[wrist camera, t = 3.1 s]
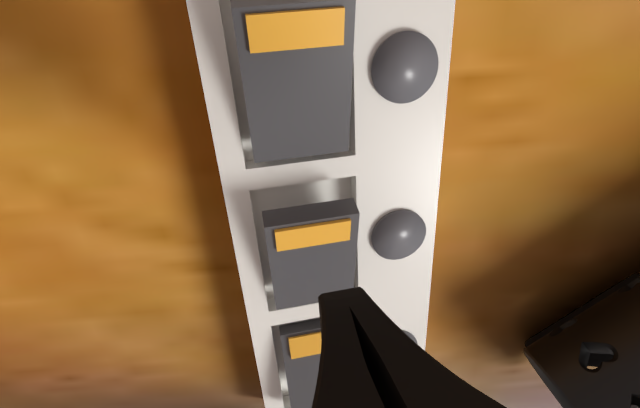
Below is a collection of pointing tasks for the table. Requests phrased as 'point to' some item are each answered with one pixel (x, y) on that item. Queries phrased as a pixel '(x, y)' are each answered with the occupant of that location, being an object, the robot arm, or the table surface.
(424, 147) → the switch strip
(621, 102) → the table surface
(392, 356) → the robot arm
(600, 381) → the black foam roller
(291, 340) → the rocker
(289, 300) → the middle rocker
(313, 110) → the rocker
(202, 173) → the table surface
